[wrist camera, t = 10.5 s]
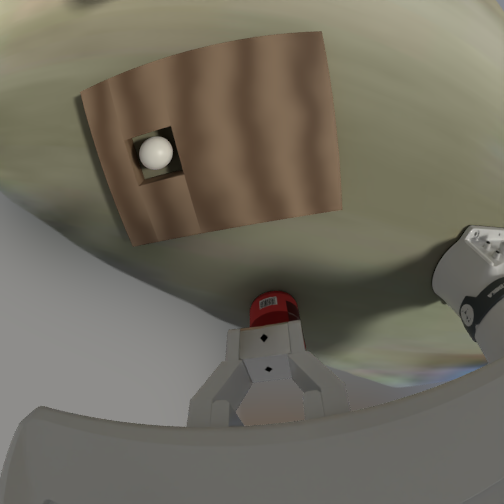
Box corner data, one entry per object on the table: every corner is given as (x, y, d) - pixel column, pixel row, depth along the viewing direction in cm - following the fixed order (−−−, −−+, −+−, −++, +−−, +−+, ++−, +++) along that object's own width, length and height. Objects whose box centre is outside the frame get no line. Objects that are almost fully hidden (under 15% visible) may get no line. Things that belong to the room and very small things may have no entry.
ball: (174, 129, 30) (149, 140, 27) (183, 161, 32) (160, 173, 29) (152, 134, 32) (128, 145, 29) (161, 163, 34) (138, 176, 31)
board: (316, 34, 25) (321, 31, 23) (336, 201, 37) (342, 209, 35) (89, 90, 27) (80, 92, 25) (138, 237, 39) (133, 246, 37)
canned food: (241, 314, 48) (241, 368, 38) (265, 282, 44) (270, 337, 35) (279, 328, 50) (286, 380, 41) (305, 298, 46) (318, 351, 37)
